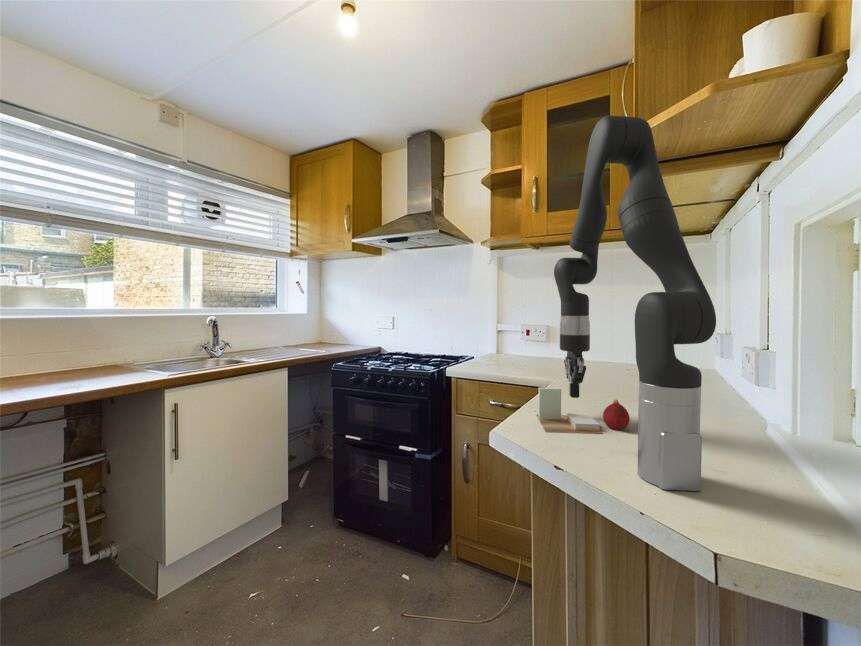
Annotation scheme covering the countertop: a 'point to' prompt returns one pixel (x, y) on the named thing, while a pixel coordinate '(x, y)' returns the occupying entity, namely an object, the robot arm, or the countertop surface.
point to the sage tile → (549, 403)
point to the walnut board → (562, 426)
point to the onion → (616, 416)
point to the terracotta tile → (583, 422)
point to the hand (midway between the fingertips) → (574, 396)
